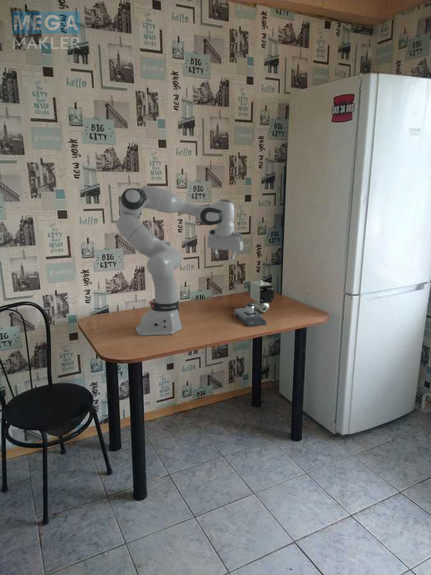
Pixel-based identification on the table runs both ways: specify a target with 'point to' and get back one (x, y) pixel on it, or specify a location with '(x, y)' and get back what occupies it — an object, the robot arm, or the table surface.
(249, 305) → the pin
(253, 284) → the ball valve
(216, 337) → the table surface
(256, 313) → the square-holed grey plate
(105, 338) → the table surface
